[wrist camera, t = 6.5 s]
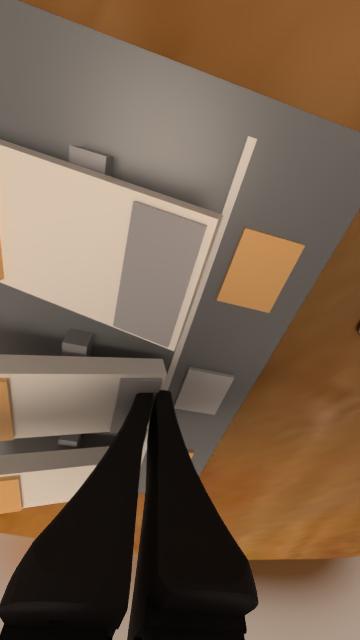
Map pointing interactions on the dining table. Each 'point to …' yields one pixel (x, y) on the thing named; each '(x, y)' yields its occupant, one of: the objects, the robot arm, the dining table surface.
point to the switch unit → (186, 185)
